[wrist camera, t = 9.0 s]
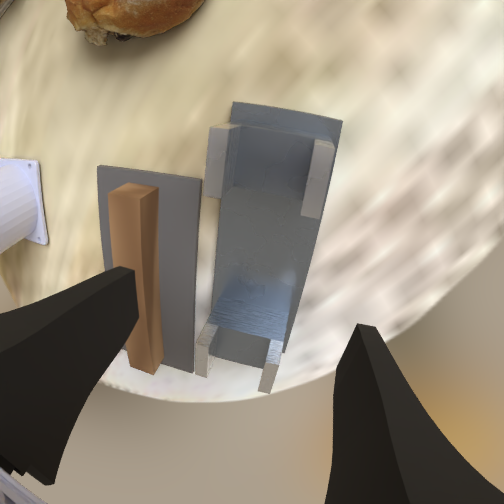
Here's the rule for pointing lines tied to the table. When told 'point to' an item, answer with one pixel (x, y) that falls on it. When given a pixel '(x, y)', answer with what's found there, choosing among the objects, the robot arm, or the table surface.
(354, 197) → the table surface
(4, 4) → the coffee box
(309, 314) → the table surface
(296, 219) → the stand
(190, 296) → the mat
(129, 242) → the rail
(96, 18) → the bread roll
